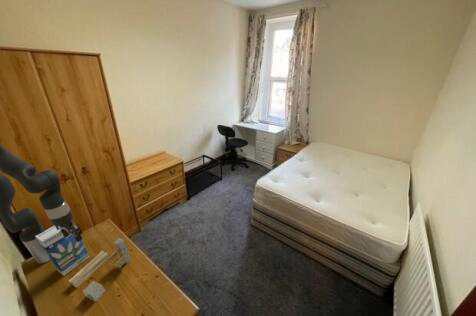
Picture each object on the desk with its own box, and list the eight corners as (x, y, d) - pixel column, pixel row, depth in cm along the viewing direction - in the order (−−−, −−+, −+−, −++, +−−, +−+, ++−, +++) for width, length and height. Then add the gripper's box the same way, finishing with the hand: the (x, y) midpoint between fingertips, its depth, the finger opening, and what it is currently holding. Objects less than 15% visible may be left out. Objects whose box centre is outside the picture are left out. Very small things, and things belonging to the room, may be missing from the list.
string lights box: (63, 276, 102) (40, 242, 91) (56, 269, 105) (33, 236, 94) (90, 256, 113) (73, 223, 101) (83, 250, 116) (65, 218, 104)
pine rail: (71, 285, 98) (68, 280, 96) (104, 255, 113) (102, 250, 112) (77, 288, 97) (74, 283, 95) (109, 257, 112) (107, 252, 110)
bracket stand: (86, 296, 93) (72, 276, 86) (124, 256, 112) (116, 236, 105) (96, 301, 91) (83, 281, 84) (133, 260, 110) (125, 240, 103)
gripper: (39, 214, 86) (55, 240, 93) (60, 222, 81) (76, 248, 89) (57, 203, 92) (71, 228, 99) (79, 210, 88) (91, 235, 95)
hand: (73, 238), depth 94 cm, fingers open, 8 cm apart
